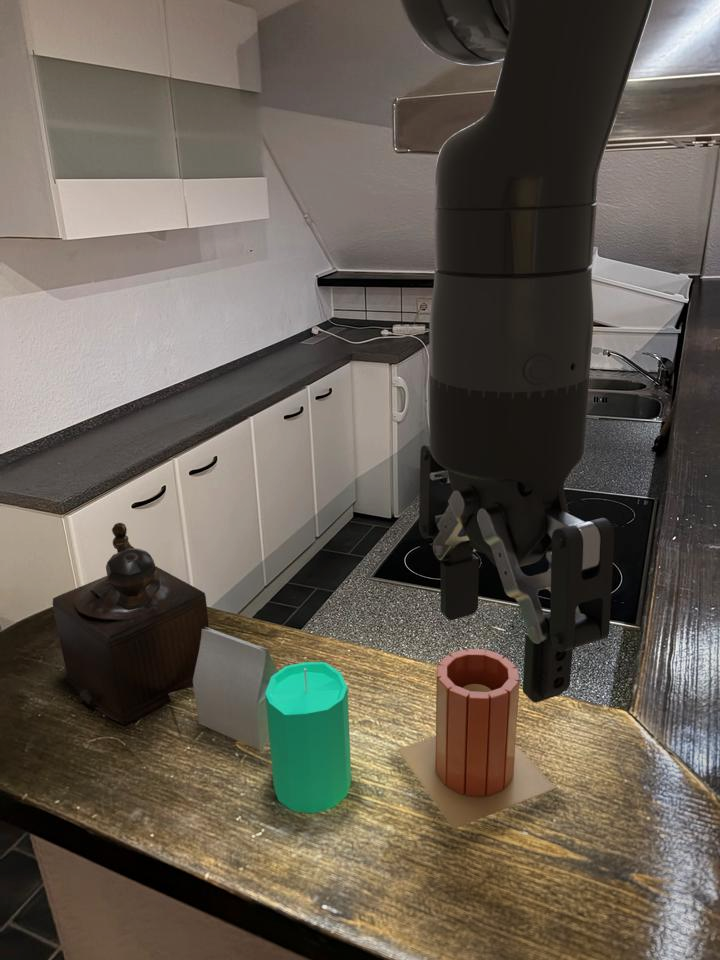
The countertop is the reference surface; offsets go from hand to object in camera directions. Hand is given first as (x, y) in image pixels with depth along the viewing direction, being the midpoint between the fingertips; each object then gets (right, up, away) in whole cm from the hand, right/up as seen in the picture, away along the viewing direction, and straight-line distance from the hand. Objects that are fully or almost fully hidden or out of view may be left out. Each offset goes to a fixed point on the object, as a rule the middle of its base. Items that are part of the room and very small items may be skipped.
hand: (497, 651), depth 42 cm
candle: (-11, -15, +17) cm, 26 cm away
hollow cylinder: (+1, -13, +17) cm, 22 cm away
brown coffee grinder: (-27, -11, +30) cm, 42 cm away
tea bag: (-18, -13, +23) cm, 32 cm away
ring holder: (+1, -14, +18) cm, 23 cm away
